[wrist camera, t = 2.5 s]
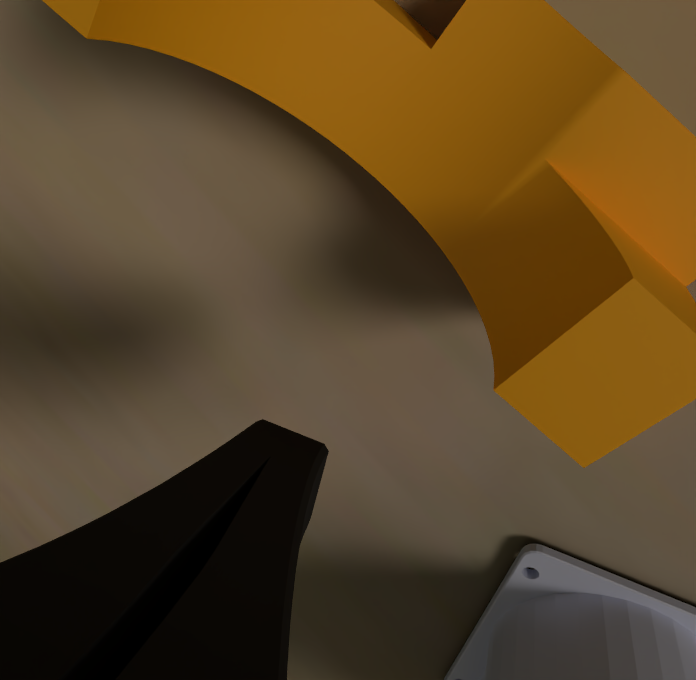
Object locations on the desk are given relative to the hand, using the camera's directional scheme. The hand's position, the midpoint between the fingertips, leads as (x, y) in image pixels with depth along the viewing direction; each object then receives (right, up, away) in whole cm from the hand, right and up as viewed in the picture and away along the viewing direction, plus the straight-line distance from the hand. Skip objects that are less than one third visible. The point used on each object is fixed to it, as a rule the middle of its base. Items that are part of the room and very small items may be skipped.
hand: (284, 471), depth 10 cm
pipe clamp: (+4, +9, +3) cm, 10 cm away
